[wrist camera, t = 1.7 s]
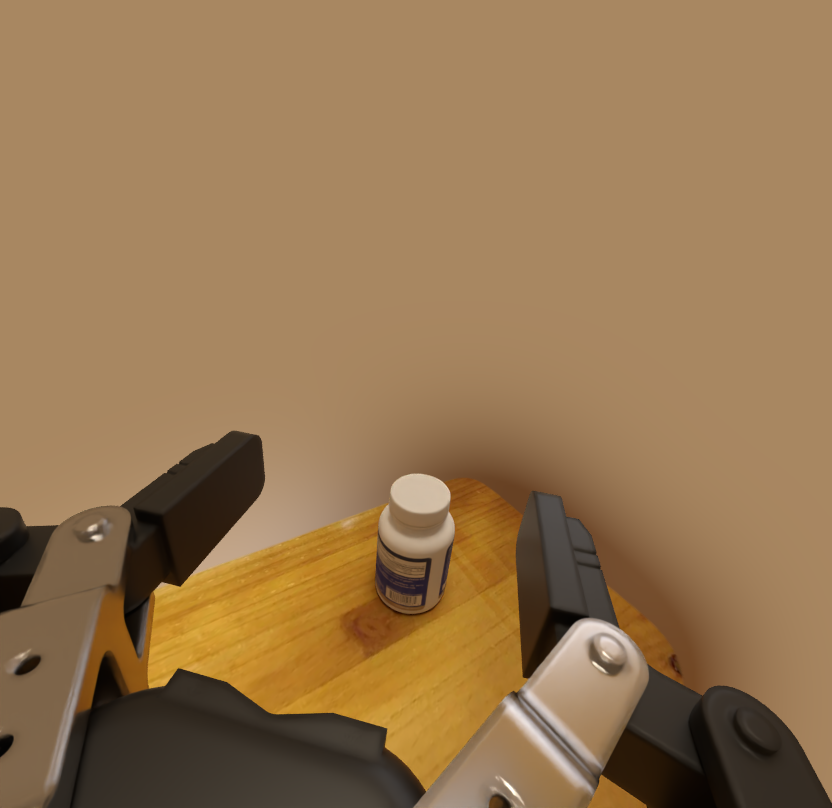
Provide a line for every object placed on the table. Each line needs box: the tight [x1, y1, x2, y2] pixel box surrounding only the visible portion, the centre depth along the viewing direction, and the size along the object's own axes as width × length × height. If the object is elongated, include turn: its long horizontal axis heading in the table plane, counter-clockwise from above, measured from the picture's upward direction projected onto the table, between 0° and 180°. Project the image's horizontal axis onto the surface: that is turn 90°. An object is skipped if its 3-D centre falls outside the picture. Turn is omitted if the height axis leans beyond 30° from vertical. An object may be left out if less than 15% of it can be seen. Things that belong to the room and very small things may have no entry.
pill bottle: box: [375, 474, 455, 614], centre depth 27 cm, size 5×5×9 cm
